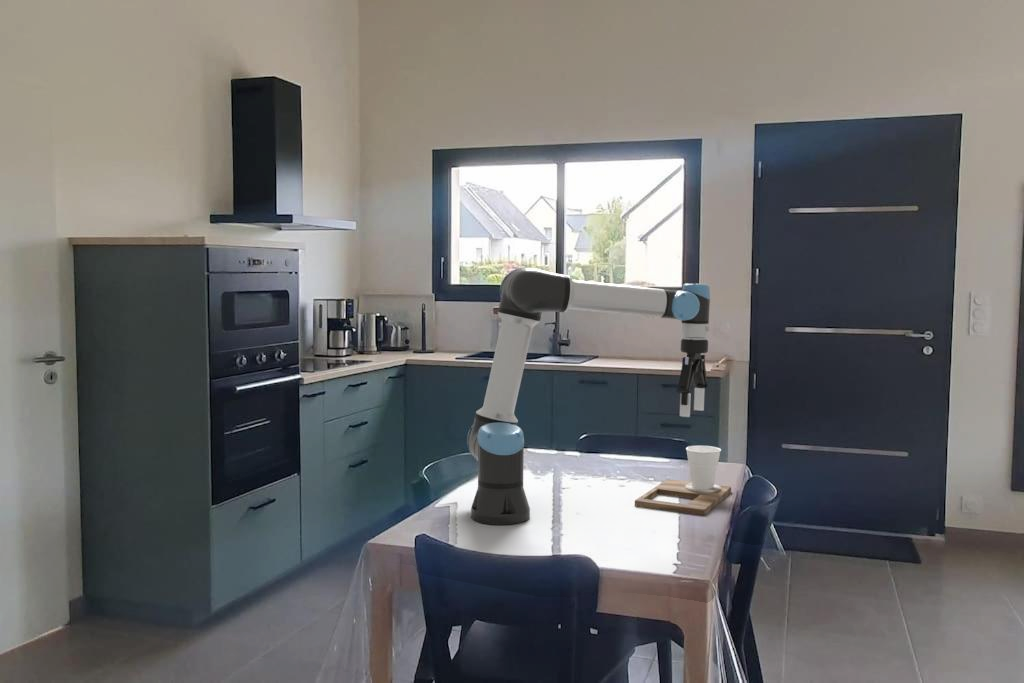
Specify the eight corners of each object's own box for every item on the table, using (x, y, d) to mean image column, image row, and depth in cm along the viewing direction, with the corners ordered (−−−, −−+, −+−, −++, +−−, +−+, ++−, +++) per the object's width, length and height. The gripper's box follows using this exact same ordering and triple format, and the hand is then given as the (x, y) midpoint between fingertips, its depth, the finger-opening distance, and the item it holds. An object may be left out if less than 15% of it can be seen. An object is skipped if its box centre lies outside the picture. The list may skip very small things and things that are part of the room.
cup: (685, 490, 245) (685, 451, 245) (685, 482, 255) (685, 444, 254) (721, 491, 243) (722, 452, 243) (719, 483, 253) (720, 446, 252)
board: (704, 515, 227) (704, 507, 227) (634, 505, 236) (634, 498, 236) (731, 491, 252) (731, 485, 252) (667, 484, 261) (667, 477, 261)
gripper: (694, 341, 233) (692, 420, 235) (719, 336, 255) (716, 409, 257) (667, 340, 237) (665, 418, 238) (694, 335, 259) (691, 406, 260)
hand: (691, 413), depth 248 cm, fingers open, 13 cm apart
